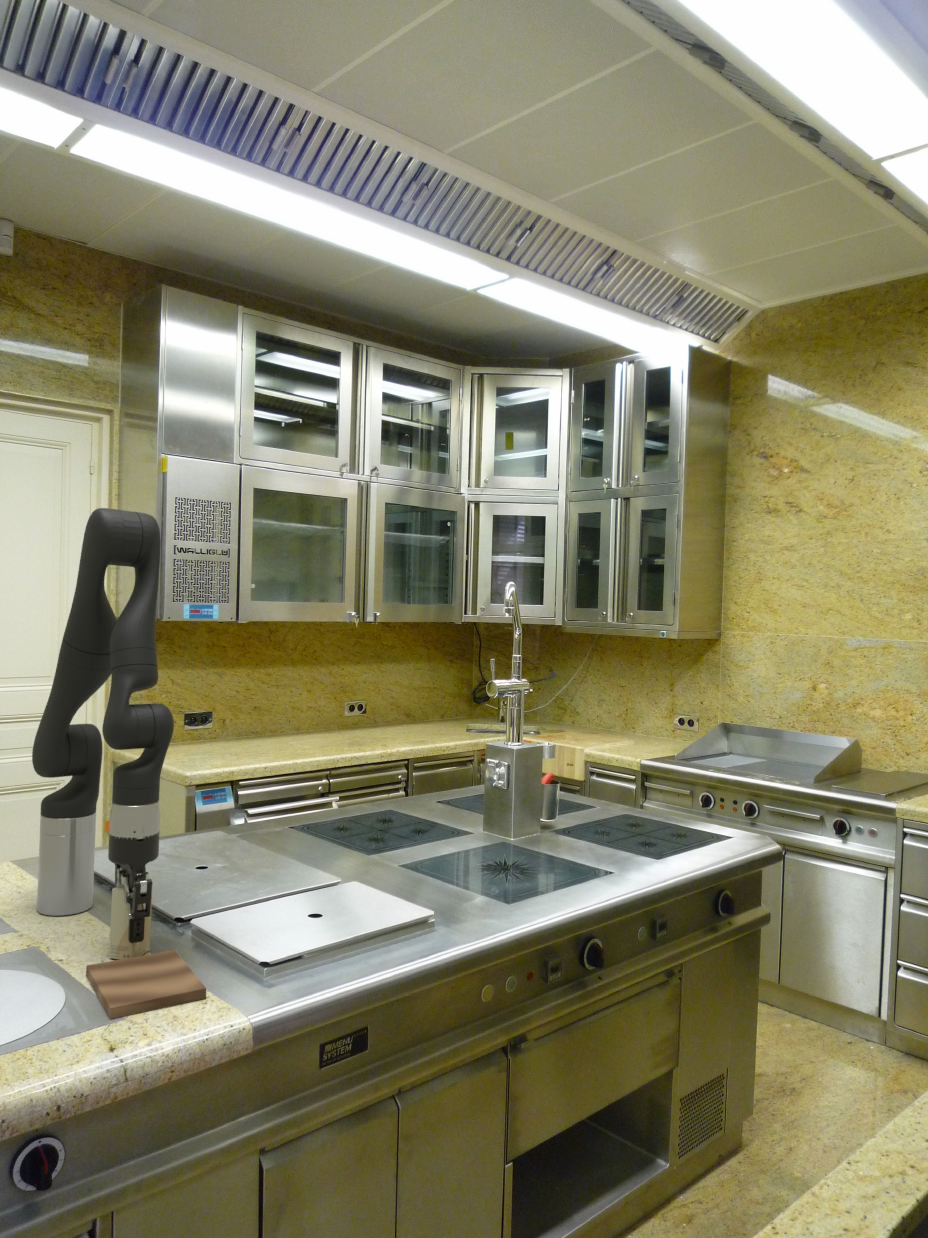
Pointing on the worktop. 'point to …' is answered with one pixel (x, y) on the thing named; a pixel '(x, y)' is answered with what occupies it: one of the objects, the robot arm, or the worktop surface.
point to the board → (144, 983)
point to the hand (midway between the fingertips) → (130, 934)
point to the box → (125, 928)
